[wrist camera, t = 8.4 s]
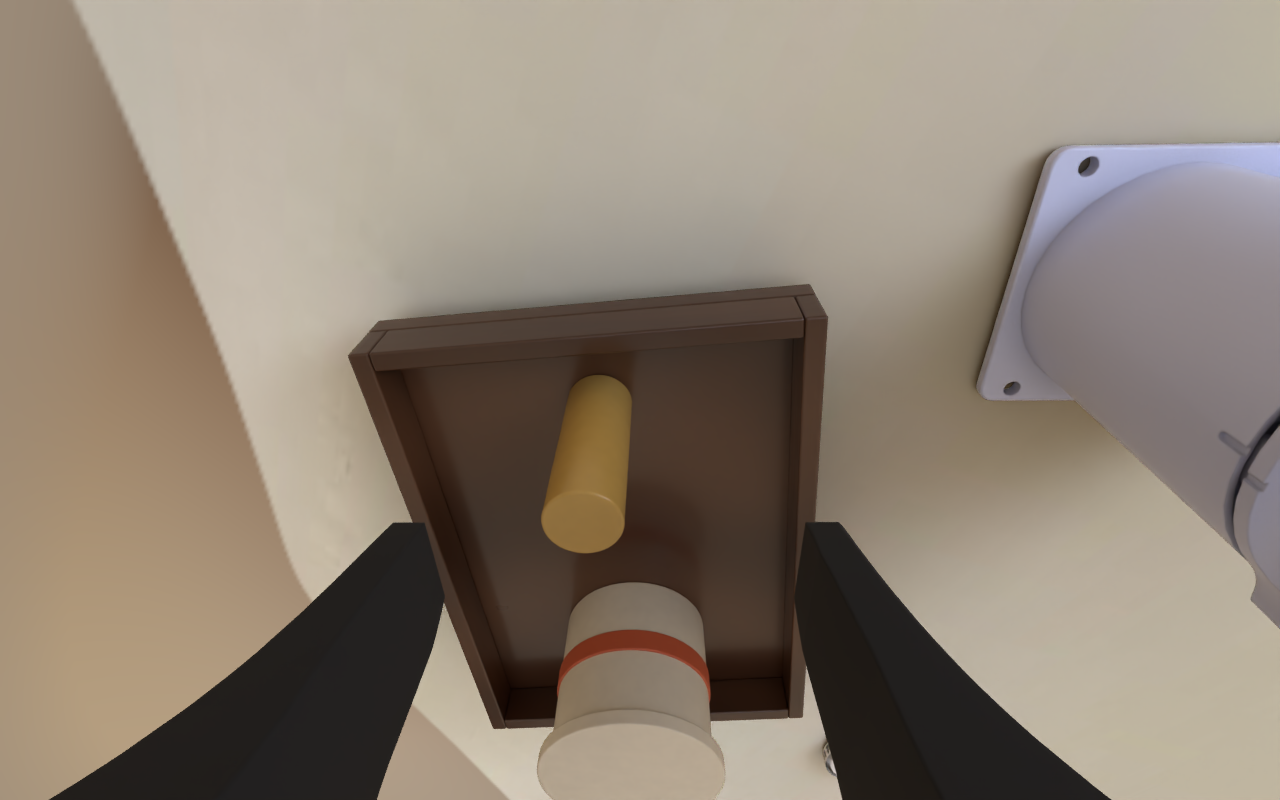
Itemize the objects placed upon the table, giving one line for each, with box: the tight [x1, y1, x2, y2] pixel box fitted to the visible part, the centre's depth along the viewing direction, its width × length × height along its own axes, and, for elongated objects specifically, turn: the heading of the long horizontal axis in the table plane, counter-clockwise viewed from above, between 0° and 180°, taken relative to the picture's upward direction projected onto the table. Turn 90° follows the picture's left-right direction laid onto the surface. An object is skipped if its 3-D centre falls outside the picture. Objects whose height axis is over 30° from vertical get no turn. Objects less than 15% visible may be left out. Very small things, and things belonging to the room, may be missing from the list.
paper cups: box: [537, 582, 725, 800], centre depth 23 cm, size 6×6×6 cm
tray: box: [348, 284, 828, 729], centre depth 21 cm, size 18×13×6 cm
